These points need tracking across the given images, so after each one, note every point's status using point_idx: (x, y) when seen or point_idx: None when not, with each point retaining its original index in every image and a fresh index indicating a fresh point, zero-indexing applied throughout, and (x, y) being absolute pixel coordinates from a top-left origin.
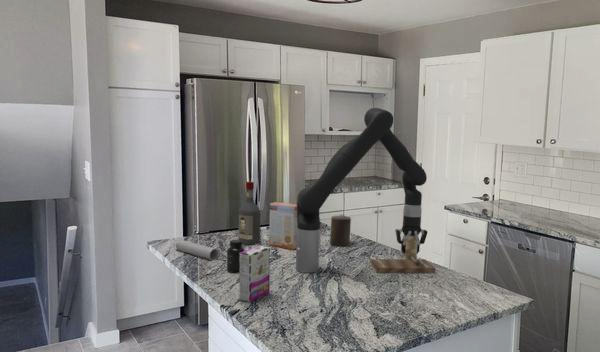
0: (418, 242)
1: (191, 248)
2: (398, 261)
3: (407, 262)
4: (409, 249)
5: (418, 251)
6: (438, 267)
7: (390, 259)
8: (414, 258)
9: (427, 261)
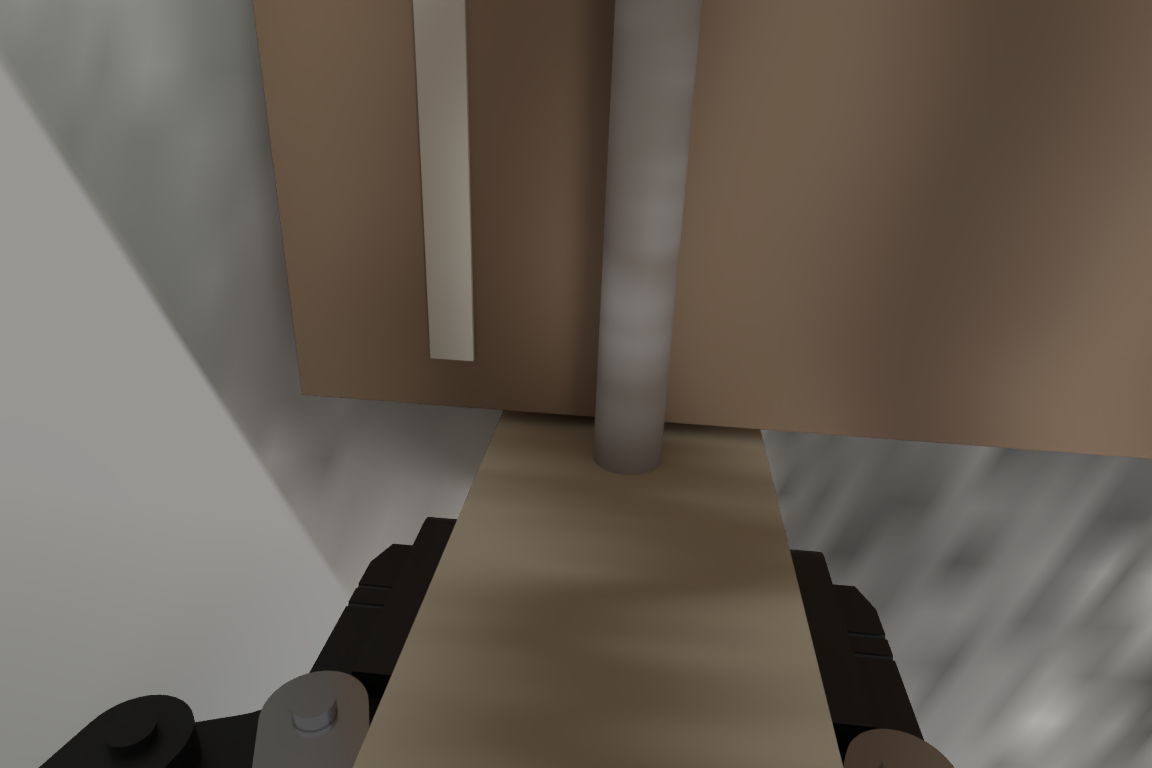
0: (313, 758)
1: None
2: (1035, 283)
3: (830, 191)
4: (677, 587)
5: (398, 555)
6: (112, 119)
7: (1148, 448)
8: (542, 434)
9: (287, 248)
